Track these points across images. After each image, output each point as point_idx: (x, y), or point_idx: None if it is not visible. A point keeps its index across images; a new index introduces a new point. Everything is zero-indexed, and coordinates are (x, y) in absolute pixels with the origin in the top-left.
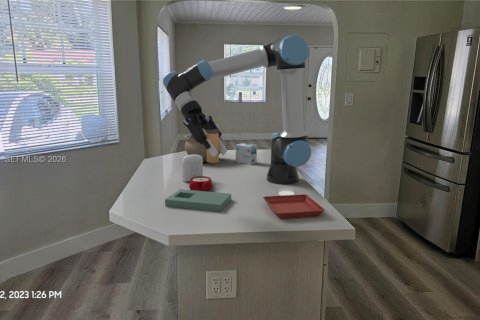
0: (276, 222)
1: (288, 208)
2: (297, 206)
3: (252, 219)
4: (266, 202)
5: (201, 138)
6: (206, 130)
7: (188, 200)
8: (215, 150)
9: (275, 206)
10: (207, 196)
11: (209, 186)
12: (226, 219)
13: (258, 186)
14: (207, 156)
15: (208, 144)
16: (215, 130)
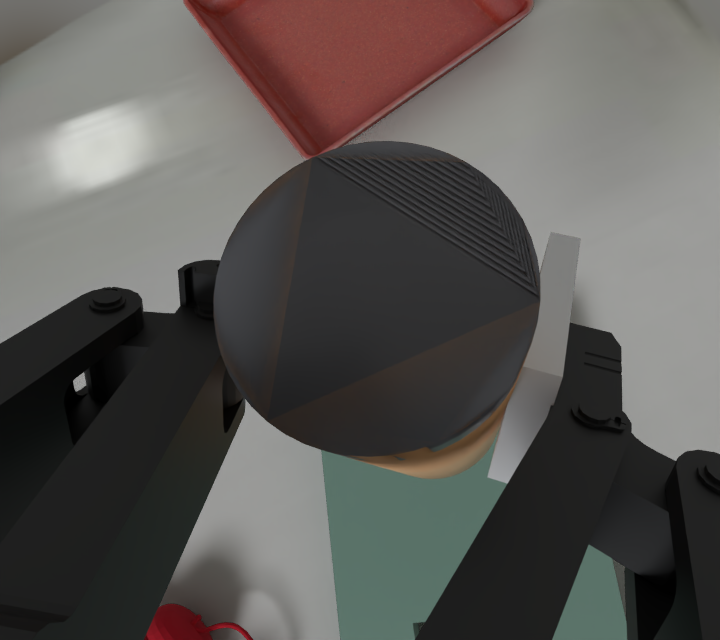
0: (557, 25)
1: (357, 39)
2: (310, 15)
3: (579, 133)
4: (363, 131)
5: (703, 460)
6: (147, 612)
7: (589, 587)
8: (570, 251)
9: (356, 100)
10: (437, 496)
11: (183, 614)
12: (656, 249)
13: (9, 335)
14: (490, 444)
15: (584, 353)
16: (458, 159)
